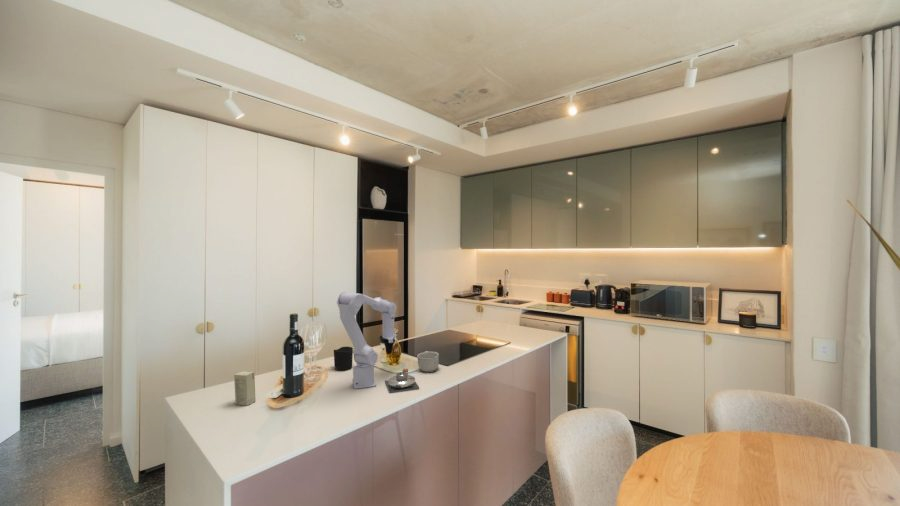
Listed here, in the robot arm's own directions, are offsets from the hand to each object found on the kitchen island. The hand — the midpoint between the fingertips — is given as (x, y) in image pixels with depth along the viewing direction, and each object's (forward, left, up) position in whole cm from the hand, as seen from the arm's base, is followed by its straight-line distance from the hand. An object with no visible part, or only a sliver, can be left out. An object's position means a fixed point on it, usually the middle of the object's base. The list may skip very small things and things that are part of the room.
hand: (388, 353), depth 175 cm
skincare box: (-60, -13, -10) cm, 62 cm away
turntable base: (+3, -17, -10) cm, 20 cm away
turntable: (+3, -16, -8) cm, 18 cm away
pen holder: (-21, +16, -10) cm, 28 cm away
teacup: (+20, 0, -10) cm, 22 cm away
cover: (+3, -17, -7) cm, 19 cm away
